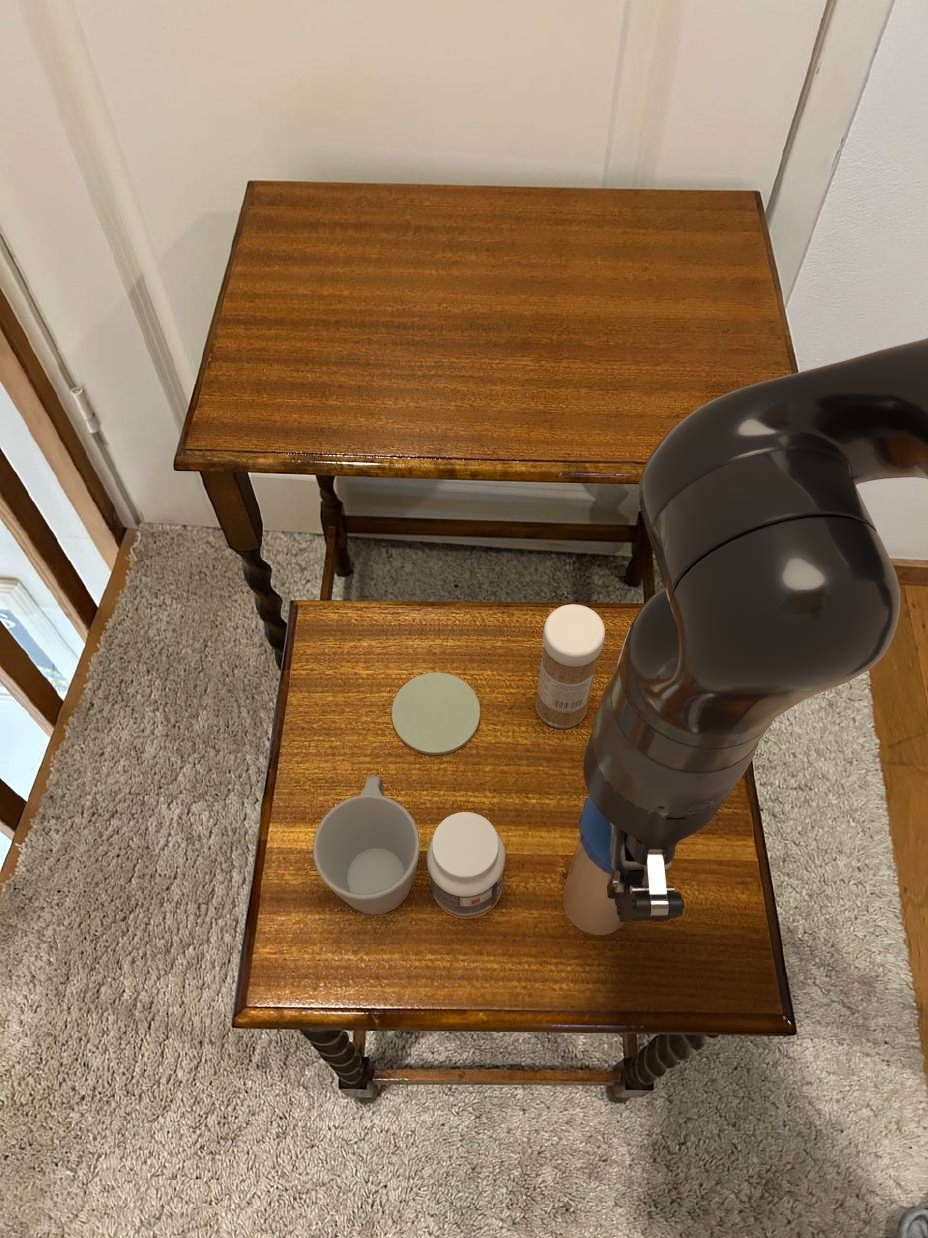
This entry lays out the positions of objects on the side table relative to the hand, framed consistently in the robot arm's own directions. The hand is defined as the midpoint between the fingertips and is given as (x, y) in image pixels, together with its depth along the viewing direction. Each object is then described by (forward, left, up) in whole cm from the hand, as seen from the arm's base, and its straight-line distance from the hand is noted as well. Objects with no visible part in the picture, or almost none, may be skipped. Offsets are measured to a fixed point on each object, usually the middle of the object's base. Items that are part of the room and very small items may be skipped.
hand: (619, 844), depth 60 cm
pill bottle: (+10, +2, -14) cm, 17 cm away
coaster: (+17, -11, -14) cm, 24 cm away
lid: (0, 0, +4) cm, 4 cm away
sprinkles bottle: (+7, -15, -14) cm, 22 cm away
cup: (+17, +3, -14) cm, 22 cm away
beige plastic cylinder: (0, 0, -14) cm, 14 cm away
